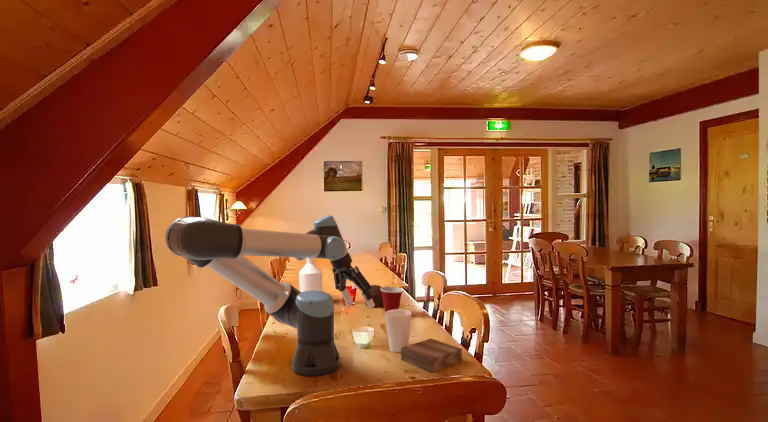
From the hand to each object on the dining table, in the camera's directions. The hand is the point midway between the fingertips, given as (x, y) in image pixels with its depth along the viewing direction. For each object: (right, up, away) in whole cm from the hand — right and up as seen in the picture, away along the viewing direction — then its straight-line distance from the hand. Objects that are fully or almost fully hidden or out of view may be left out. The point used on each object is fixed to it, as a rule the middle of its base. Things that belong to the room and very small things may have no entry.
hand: (360, 306), depth 162 cm
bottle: (-29, -12, +60) cm, 67 cm away
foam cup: (+14, -13, -10) cm, 22 cm away
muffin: (+4, -11, +52) cm, 53 cm away
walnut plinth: (+24, -13, -21) cm, 35 cm away
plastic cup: (+13, -12, +35) cm, 39 cm away
